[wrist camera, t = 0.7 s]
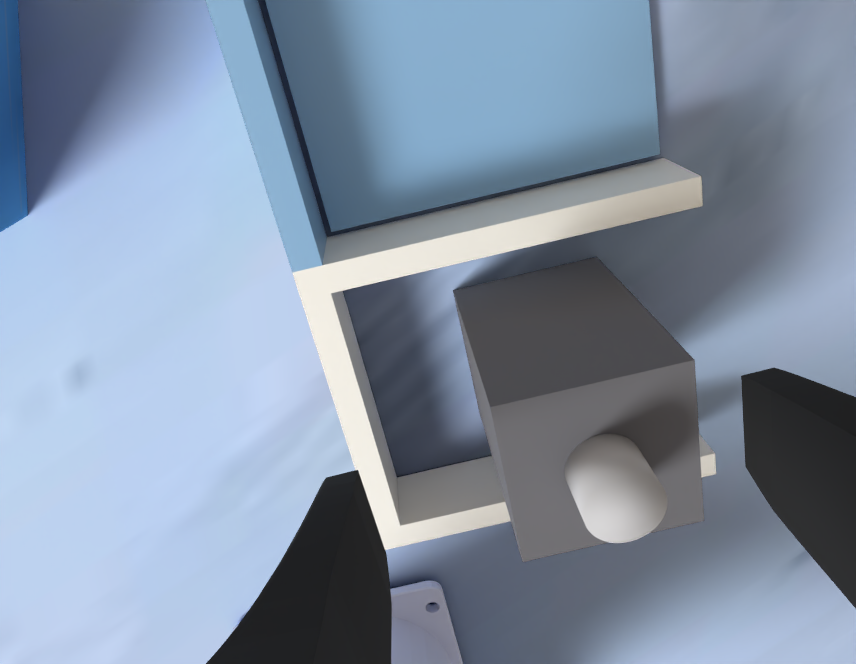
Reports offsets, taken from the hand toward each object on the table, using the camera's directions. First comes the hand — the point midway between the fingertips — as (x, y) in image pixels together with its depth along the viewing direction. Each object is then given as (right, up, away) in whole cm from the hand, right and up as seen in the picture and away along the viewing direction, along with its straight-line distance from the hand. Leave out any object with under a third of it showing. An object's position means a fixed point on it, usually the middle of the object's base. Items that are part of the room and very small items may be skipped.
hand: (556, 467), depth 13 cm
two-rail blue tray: (0, +6, +8) cm, 10 cm away
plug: (+1, +2, +10) cm, 10 cm away
